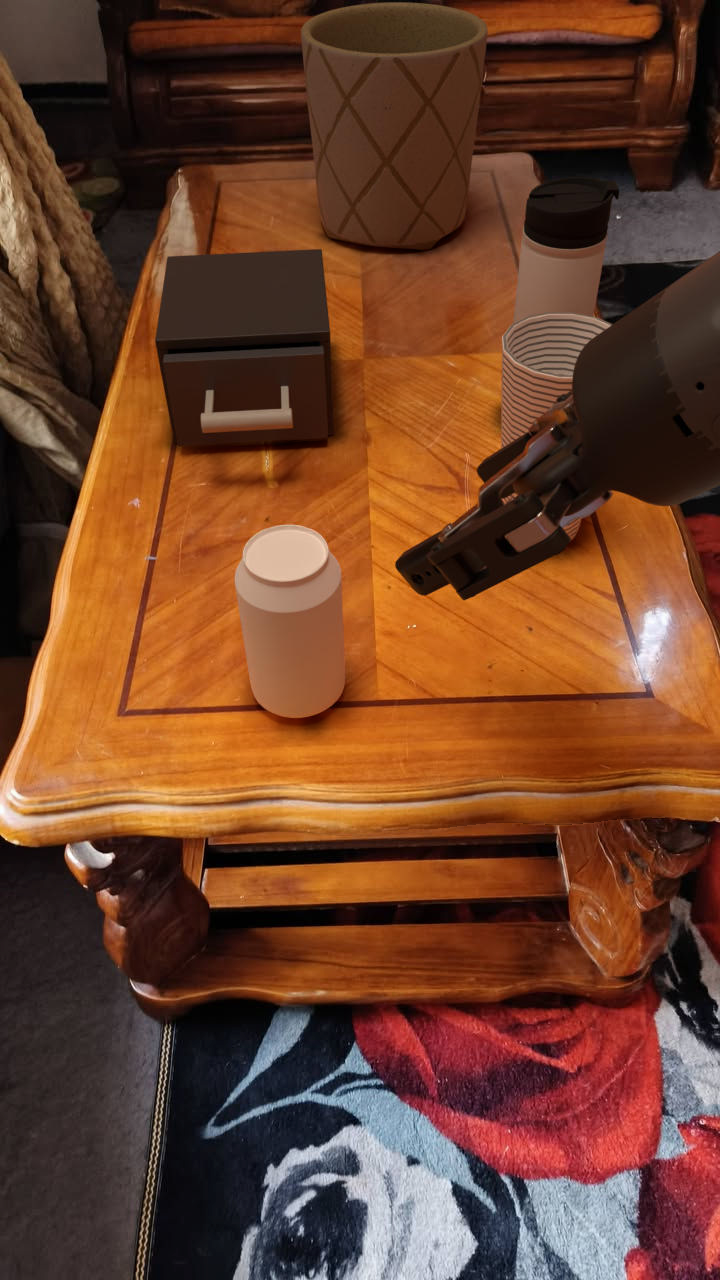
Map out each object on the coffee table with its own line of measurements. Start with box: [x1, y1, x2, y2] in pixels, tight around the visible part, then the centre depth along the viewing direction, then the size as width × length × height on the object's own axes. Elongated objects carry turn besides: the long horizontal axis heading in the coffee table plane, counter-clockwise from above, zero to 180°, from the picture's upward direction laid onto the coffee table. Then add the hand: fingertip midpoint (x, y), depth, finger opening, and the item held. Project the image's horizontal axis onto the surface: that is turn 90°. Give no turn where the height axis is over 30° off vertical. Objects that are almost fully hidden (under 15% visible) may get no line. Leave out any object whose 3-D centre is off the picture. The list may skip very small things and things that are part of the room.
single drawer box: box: [154, 248, 335, 445], centre depth 84 cm, size 15×14×10 cm
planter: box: [300, 1, 488, 251], centre depth 105 cm, size 19×19×20 cm
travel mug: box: [512, 176, 620, 324], centre depth 76 cm, size 6×7×20 cm
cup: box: [500, 312, 614, 542], centre depth 68 cm, size 8×8×16 cm
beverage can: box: [234, 524, 346, 719], centre depth 59 cm, size 6×6×12 cm
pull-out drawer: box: [163, 342, 329, 447], centre depth 81 cm, size 18×13×8 cm
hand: (451, 527), depth 48 cm, fingers open, 8 cm apart
